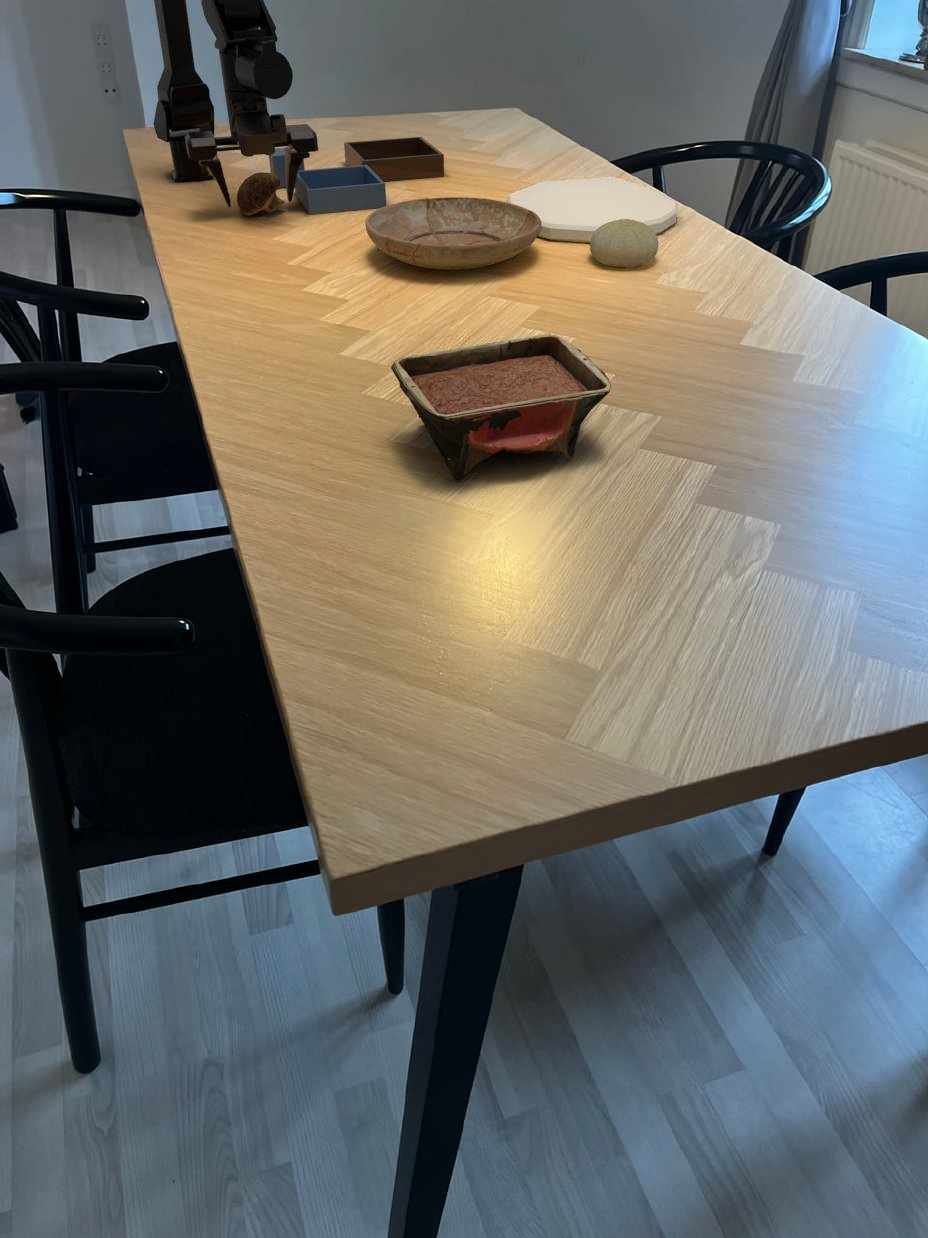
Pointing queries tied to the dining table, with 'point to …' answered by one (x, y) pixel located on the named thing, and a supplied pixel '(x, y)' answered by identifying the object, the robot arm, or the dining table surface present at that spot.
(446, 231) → the ceramic bowl
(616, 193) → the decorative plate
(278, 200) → the mushroom
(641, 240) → the sea urchin shell
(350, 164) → the walnut bin
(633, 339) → the dining table surface
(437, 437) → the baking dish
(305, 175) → the blue bin
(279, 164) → the blue block
